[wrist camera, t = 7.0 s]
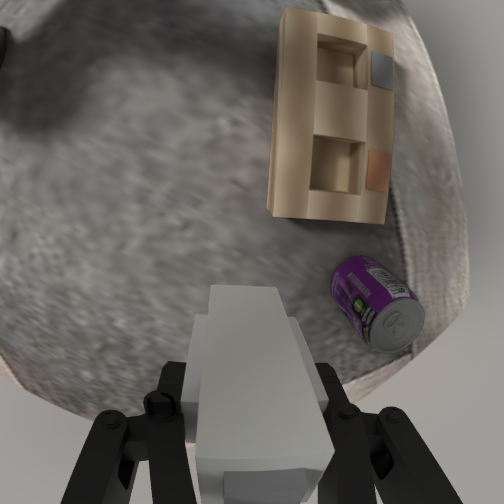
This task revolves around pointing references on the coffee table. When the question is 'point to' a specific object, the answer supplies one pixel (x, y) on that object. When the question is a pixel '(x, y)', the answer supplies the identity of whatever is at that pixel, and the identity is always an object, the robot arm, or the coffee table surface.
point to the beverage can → (377, 304)
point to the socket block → (331, 119)
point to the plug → (256, 405)
